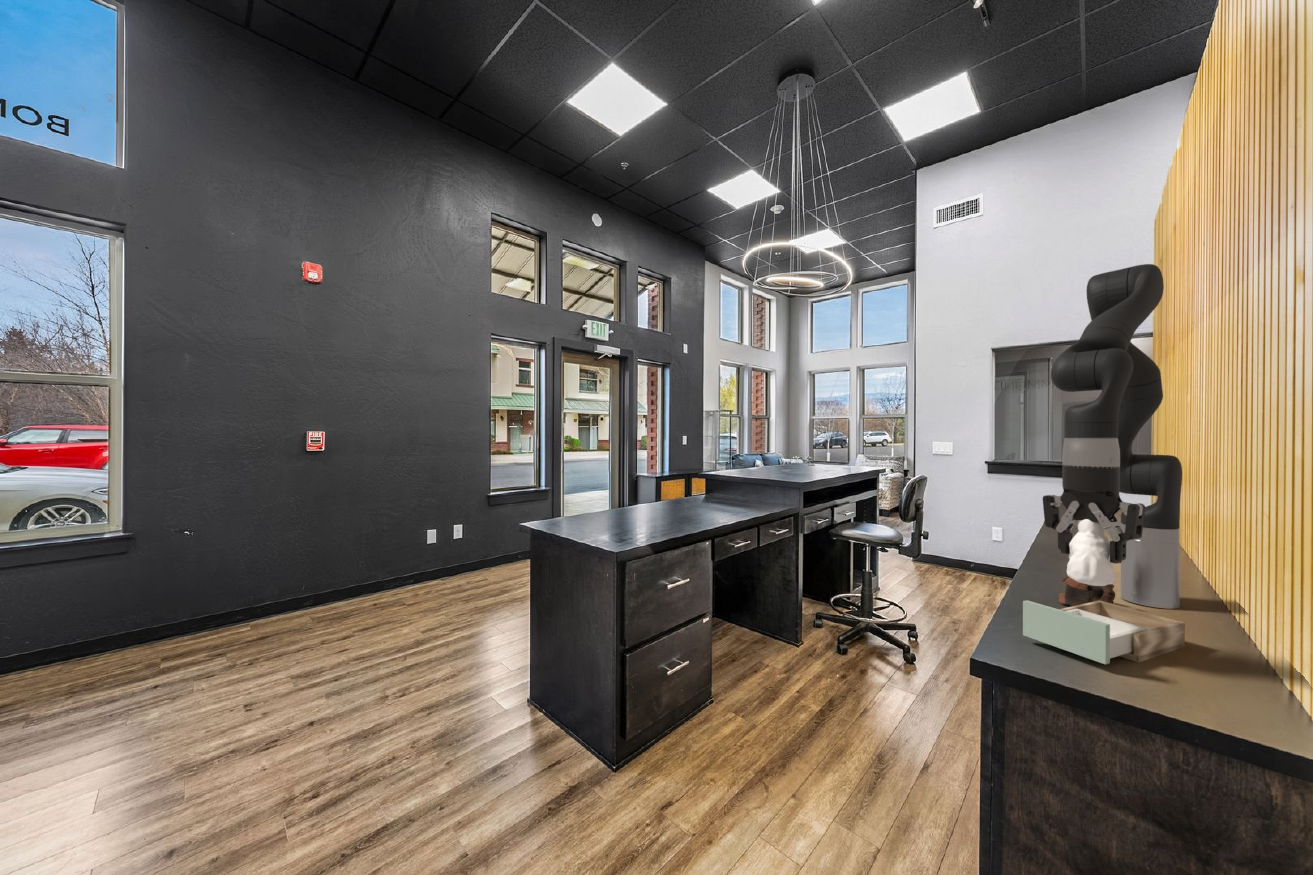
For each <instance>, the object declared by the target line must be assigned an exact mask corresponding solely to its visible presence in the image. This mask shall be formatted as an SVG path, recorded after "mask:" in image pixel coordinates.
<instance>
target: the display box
mask: <svg viewBox="0 0 1313 875" xmlns="http://www.w3.org/2000/svg"><path fill="white" fill-rule="evenodd" d="M1058 609H1059V610H1062V611H1068V610H1073V609H1079V610H1083V611H1087V612H1090V613H1094V614H1097V615H1101V616H1104V617H1108V618H1111V619H1115V620H1119V621H1122V622H1126V623H1129V624H1133V625H1136V626H1140V627H1143V628H1147V631H1143V632H1140V633H1136V634H1134V651H1133V652H1130V653H1127V654H1123V655H1120V656H1119V657H1121V658H1124V659H1126V660H1129V661H1132V662H1136V663H1138V664H1139V663H1142V662H1146V661H1148V660H1152V659H1154V658H1157V657H1160V656H1162V655H1166V654H1169V653H1171V652H1174V651H1176V650H1180V649H1183V648H1185V644H1186V639H1185V638H1186V635H1185V634H1186V622H1184V621H1181V620H1177V619H1172V618H1168V617H1165V616H1160V615H1157V614H1153V613H1149V612H1145V611H1142V610H1137V609H1134V608H1130V607H1126V606H1122V605H1120V604H1119V605H1118V604H1115V603H1113V604H1111V603H1107V602H1103V601H1095V602H1090V603H1086V604H1081V605H1077V606H1069V607H1068V606H1067V607H1064V608H1058Z"/></svg>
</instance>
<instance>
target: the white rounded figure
mask: <svg viewBox="0 0 1313 875" xmlns="http://www.w3.org/2000/svg"><path fill="white" fill-rule="evenodd" d="M1073 524H1074V523H1073ZM1074 527H1077V533H1076V534H1074V535H1073V536H1072V540H1071V542H1070V544H1069V547H1070V553H1069V554H1068V559H1069V561H1068V562H1067V565H1066V567H1067V568H1066V574H1067V577H1070V578H1072V579H1074V580H1075V581H1077V582H1080V583H1083V584H1087V585H1094V586H1106V585H1109V584H1113V585H1114V584H1116V579H1117V576H1116V572H1115V569H1114V567H1113V566H1114V565H1116V564H1115V563H1111V562H1110V540H1109V538H1108V537H1107V536H1106V535H1105V532H1106V530H1105V529H1104V528H1102V526H1101V525H1100V523H1097V522H1092V521H1090V520H1089V519H1084V520H1078V521H1077V522H1075V525H1074Z"/></svg>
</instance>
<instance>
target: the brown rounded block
mask: <svg viewBox="0 0 1313 875" xmlns="http://www.w3.org/2000/svg"><path fill="white" fill-rule="evenodd" d="M1061 582H1064V583H1065V584H1066V585H1065V592H1060V593H1059V594H1058V604H1066V605H1069V606H1070V607H1072V606H1077V605H1081V604H1086V603H1090V602H1095V601H1103V602H1107V603H1111V604H1115V603H1114V600H1115V598H1116V592H1115V591H1114V588H1115V585H1114V584H1109V585H1106V586H1094V585H1087V584H1083V583H1080V582H1077V581H1075V580H1074V579H1072V578H1070V577H1068V576H1066V577H1064V578H1063V579H1062V580H1061Z"/></svg>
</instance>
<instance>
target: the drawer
mask: <svg viewBox="0 0 1313 875" xmlns="http://www.w3.org/2000/svg"><path fill="white" fill-rule="evenodd" d="M1059 609H1060V608H1055V607H1052V606H1049V605H1045V604H1042V603H1037V602H1035V601H1031V600H1028V599H1027V600H1023V601H1022V636H1024V637H1027V638H1030V639H1033V640H1035V641H1039V642H1041V643H1044V644H1046V645H1050V646H1053V647H1055V648H1058V649H1060V650H1064V651H1067V652H1068V653H1069V652H1070V653H1072V654H1075V655H1078V656H1080V657H1083V658H1085V659H1089V660H1092V661H1095V662H1098V663H1100V664H1102V665H1103V664H1104V665H1109V664H1110V662H1111V659H1113V658H1116V657H1120V655H1123V654H1127V653H1130V652H1133V651H1134V634H1136V633H1140V632H1143V631H1147V628H1143V627H1140V626H1136V625H1133V624H1129V623H1126V622H1122V621H1119V620H1115V619H1111V618H1108V617H1104V616H1101V615H1097V614H1094V613H1090V612H1087V611H1083V610H1079V609H1073V610H1068V611H1062V610H1059Z"/></svg>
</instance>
